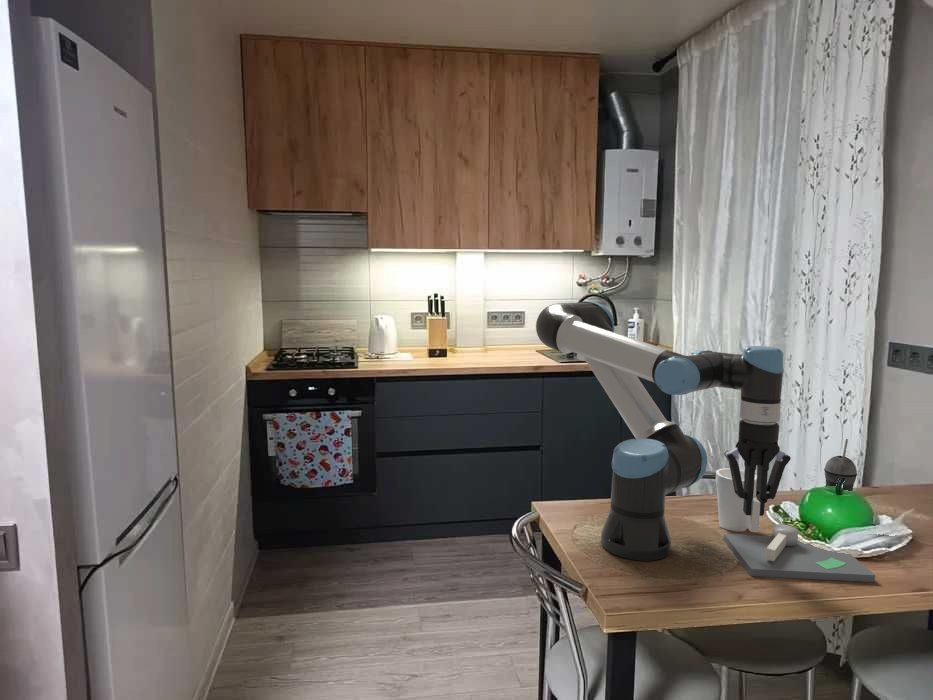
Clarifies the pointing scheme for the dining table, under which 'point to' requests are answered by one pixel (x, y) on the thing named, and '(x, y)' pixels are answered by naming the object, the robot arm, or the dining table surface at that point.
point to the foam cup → (730, 501)
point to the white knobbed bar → (781, 540)
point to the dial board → (796, 560)
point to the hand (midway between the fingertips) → (752, 529)
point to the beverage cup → (841, 471)
